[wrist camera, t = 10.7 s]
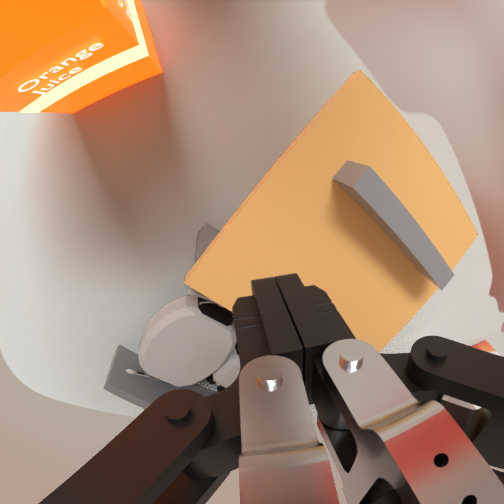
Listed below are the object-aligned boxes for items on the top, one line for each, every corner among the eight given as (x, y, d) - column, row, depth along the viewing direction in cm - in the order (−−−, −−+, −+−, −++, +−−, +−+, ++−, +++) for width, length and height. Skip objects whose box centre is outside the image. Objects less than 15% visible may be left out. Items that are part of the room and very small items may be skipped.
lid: (185, 276, 21) (181, 307, 17) (353, 72, 16) (384, 62, 13) (348, 370, 27) (363, 398, 23) (471, 230, 23) (499, 246, 19)
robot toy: (296, 329, 33) (183, 263, 27) (309, 355, 29) (182, 290, 23) (231, 390, 36) (125, 344, 30) (237, 417, 32) (119, 374, 26)
